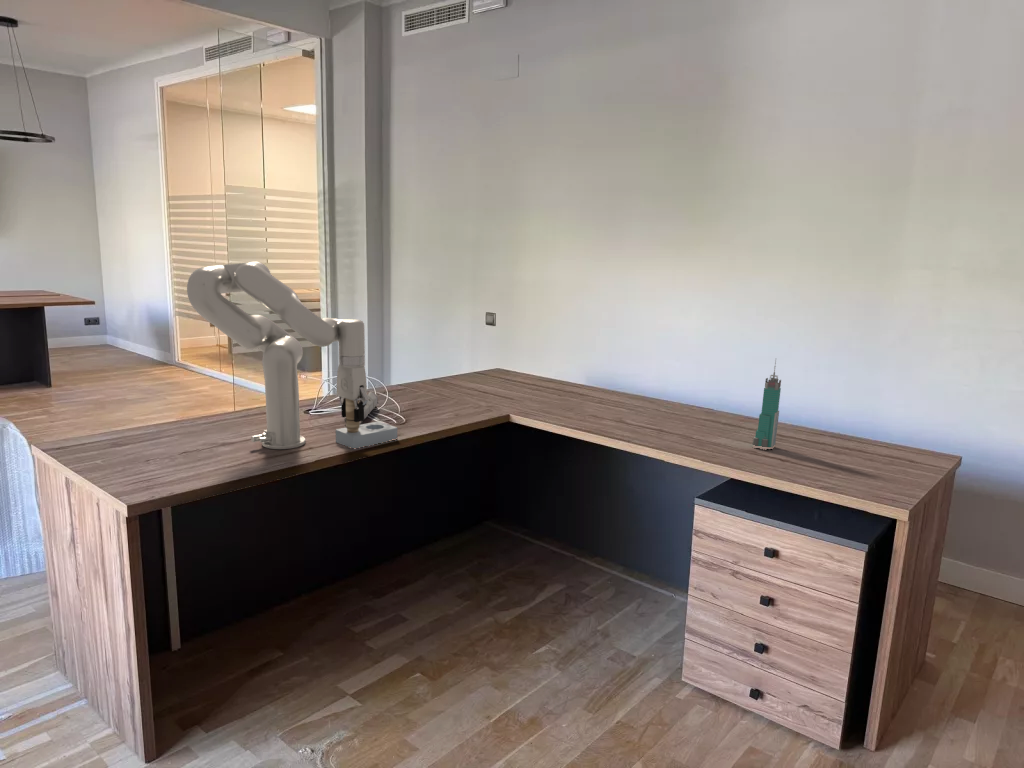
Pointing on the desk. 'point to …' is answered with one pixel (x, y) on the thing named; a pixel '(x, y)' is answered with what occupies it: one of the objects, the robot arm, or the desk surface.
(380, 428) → the board
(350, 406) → the peg
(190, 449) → the desk surface
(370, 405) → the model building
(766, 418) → the building
